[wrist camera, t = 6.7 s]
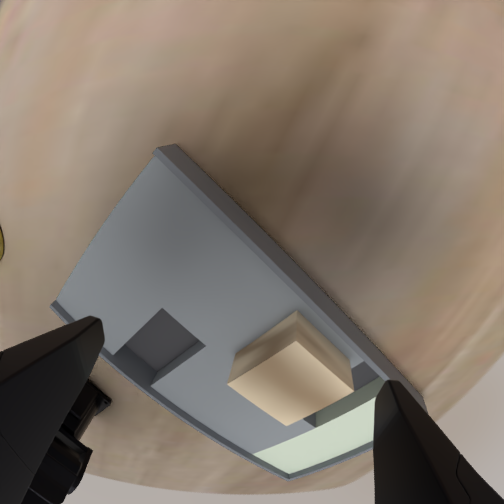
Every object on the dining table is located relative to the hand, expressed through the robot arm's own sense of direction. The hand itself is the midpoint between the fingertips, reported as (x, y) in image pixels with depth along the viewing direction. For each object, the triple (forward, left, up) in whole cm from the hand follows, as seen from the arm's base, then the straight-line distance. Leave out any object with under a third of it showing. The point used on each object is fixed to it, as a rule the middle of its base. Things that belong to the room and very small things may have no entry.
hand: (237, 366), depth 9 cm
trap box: (-8, -6, -12) cm, 16 cm away
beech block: (-4, -7, -10) cm, 13 cm away
